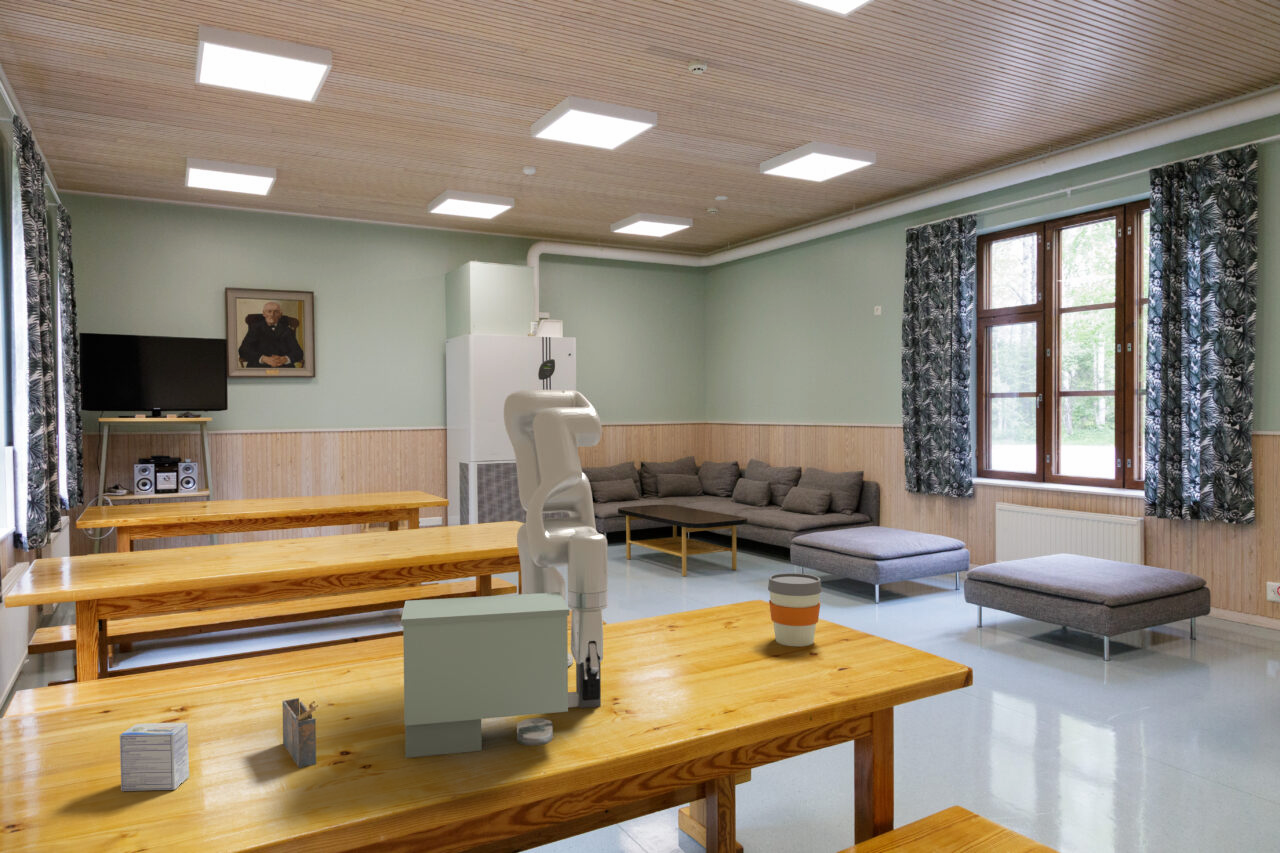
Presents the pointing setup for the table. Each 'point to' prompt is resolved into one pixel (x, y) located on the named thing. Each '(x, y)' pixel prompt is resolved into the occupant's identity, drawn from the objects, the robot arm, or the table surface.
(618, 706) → the table surface
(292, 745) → the weathered grey open box
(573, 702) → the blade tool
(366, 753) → the table surface
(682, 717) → the table surface
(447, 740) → the cabinet
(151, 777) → the medicine box
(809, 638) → the reusable coffee cup
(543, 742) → the steel token
